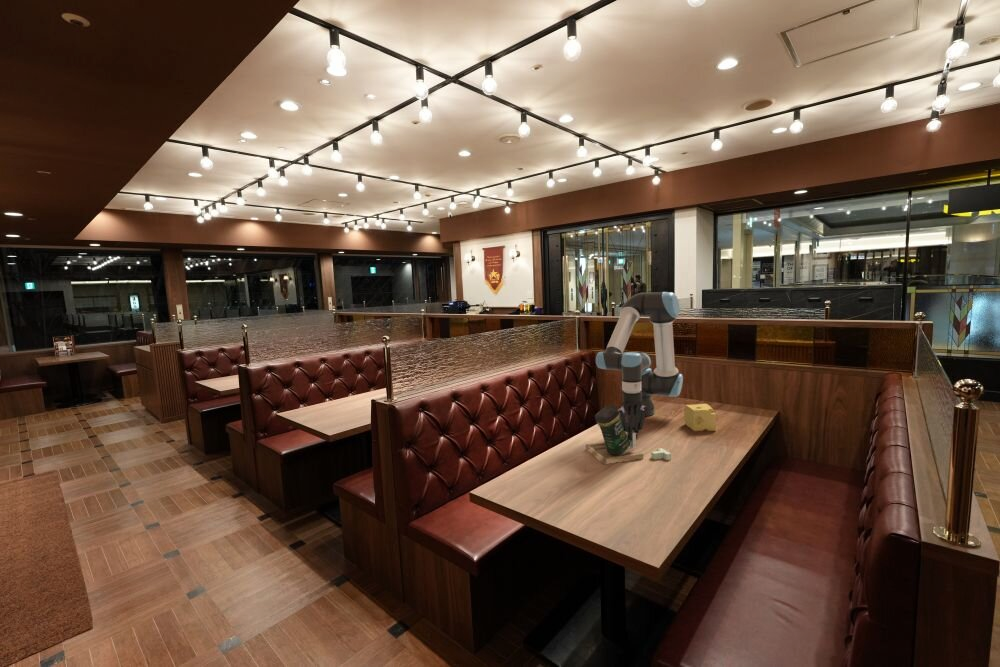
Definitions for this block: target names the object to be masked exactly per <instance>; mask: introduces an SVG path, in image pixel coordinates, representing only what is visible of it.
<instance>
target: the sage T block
mask: <svg viewBox="0 0 1000 667" xmlns="http://www.w3.org/2000/svg"><path fill="white" fill-rule="evenodd" d="M671 453H672V452H669V451H668V450H666V449H664V448H662V447H661V448H657V450H655V451H651V453H650V454H651V455H650V457H651V459H653V460H660V459H663V460H666V461H670V460H672V454H671Z"/></svg>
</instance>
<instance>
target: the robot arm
mask: <svg viewBox="0 0 1000 667" xmlns="http://www.w3.org/2000/svg"><path fill="white" fill-rule="evenodd" d="M679 303H680V302H679V300H678V297H677V295H676V294H675V293H674V292H671V291H670V292H669V291H658V292H657V291H656V292H652V291H651V292H639V293H636V294H634V295H631V297H630V298H628V299H627V300H626V301H625V302H624V304H623V305H622V306H621V308H620V310H619V318H618V320H617V323H616V325H615V327H614V330H613V331H612V334H611V337H610V339H609V341H608V343H607V346H606V348H605V350H604V351H599V352H597V354H596V357H595V364H596V367H597V368H598V369H601V370H612V371H621V390H622V392H621V394H622V398H621V399H622V403H621V407H620V408H617V409H618V412H619V414H620V421H621V424H622V426H623V428H624V430H625V432H626V433H627V436H628V438H629V441H630V446H629V448H631V449H632V450H634V449H635V450H636V449H637V440H638V434H639V433H640V431H642V430H643V426H644V423H645V422H644V421H645V417H649V416H653V415H655V413H656V409H655V404H654V402H653V399H652V395H653V396H654V395H655V396H663V397H669V398H670V397H674V398H676V397H679V395H680V394H681V391H682V388H683V381H684V376H683V374H682V373H679V369H678V368H677V366H676V364H675V362H676V361H675V347H674V346H675V345H674V329H673V327H674V326H673V323H674V322H675V321H676V318H677V317H678V316H679V315H680V314H679V313H680V304H679ZM641 317H645V318H646V317H649V323H651V324H652V325H653V327H652V328H653V339H654V348H655V349H654V350H655V351H654V353H655V364H656V367H655V368H654V370H653V371H652V368H650V366H651V364H652V360H651V358H650V356H649V355H648V354H647V353H645V352H633V351H632V352H631V351H630V352H624V351H625V349H626V346H627V343H628V342H629V338H630V337H631V334H632V332H633V329H634V327H635V324H636V322H638V321H639V320H640V318H641ZM625 415H626V416H625Z"/></svg>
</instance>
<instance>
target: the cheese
mask: <svg viewBox="0 0 1000 667" xmlns="http://www.w3.org/2000/svg"><path fill="white" fill-rule="evenodd" d="M683 416H684V417H683V418H684V424H685V425H686V426H687V427H688V428H690V429H691V430H692V431H694V432H704V431H709V432H710V431H717V422H716V419H717V415H716V414H715V410H714V409H713V407H711V405H709V404H707V403H699V404H698V403H697V404H685V406H684V411H683Z"/></svg>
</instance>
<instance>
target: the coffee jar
mask: <svg viewBox="0 0 1000 667" xmlns="http://www.w3.org/2000/svg"><path fill="white" fill-rule="evenodd" d="M618 409H619V408H617V407H616V406H615V405H610V404H607V405H606V406H604V407H603V408H601V409H600V410H599V411H598V412H597V413H595V415H594V418H595V422H596V424H597V425H598V426H599V429H600V431H601V434H602V437H603V441H604V442H605V445H606V450H607V453H608V454H611V455H613V456H620V455H622V454H624V452H626V451H627V450H628V449H629V448H630V441H629V438H628V433H627V432H625V430H624V428H623V426H622V424H621V420H620V414H619V412H618Z"/></svg>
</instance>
